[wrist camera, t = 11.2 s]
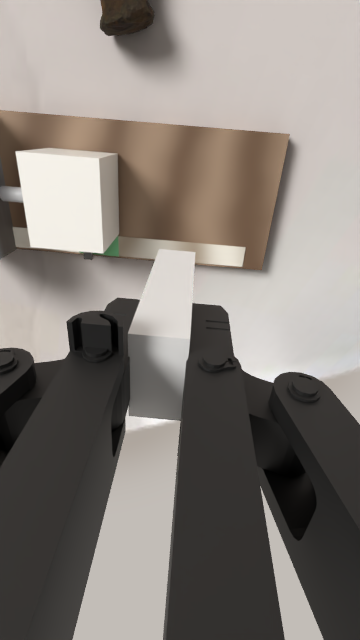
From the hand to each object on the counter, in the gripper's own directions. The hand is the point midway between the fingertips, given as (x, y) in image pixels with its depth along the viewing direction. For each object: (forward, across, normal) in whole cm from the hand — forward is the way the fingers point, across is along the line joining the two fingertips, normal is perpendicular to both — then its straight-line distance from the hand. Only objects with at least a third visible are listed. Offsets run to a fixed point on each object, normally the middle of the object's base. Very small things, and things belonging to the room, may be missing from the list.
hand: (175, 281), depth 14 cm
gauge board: (+20, +7, 0) cm, 22 cm away
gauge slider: (+19, +11, +1) cm, 22 cm away
